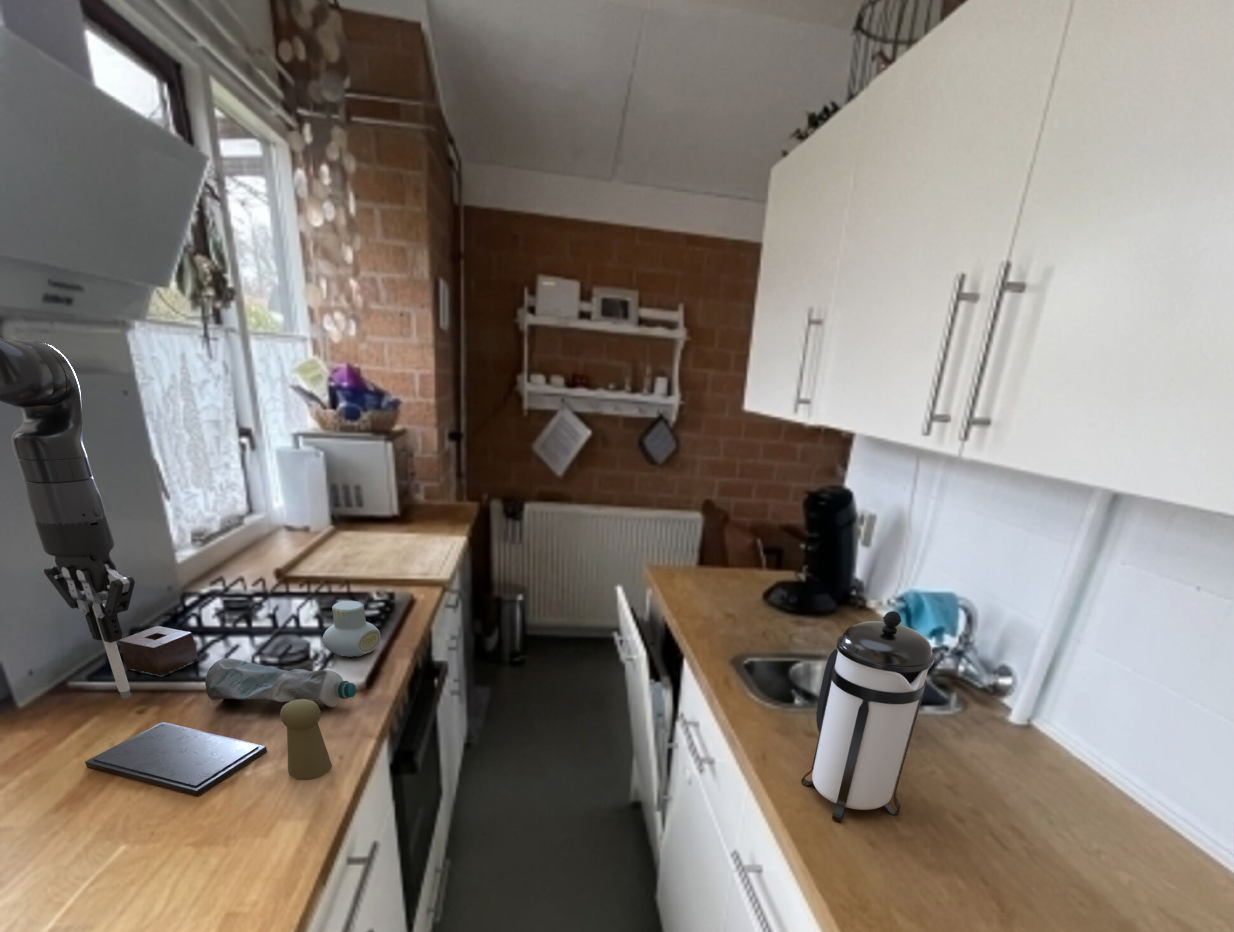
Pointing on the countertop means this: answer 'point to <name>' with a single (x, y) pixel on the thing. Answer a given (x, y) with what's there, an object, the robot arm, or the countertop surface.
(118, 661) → the stylus
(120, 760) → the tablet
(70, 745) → the countertop surface
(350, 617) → the air freshener
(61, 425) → the robot arm
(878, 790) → the coffee press
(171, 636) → the pen stand
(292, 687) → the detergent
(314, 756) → the olive green pawn
